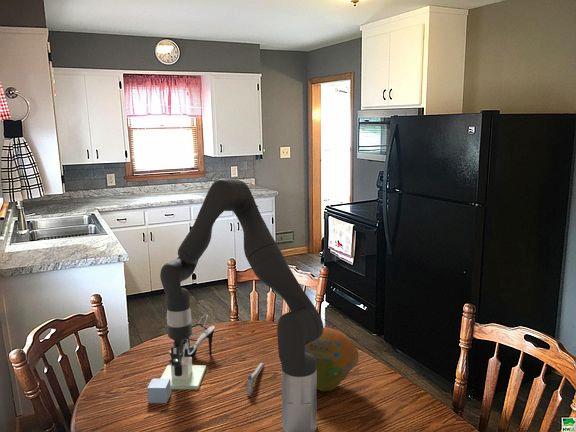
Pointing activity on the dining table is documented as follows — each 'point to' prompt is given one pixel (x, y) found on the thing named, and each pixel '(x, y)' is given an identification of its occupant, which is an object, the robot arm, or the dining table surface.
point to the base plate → (185, 383)
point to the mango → (332, 358)
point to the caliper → (253, 379)
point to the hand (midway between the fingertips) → (181, 368)
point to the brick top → (159, 390)
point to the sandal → (201, 339)
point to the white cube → (183, 369)
